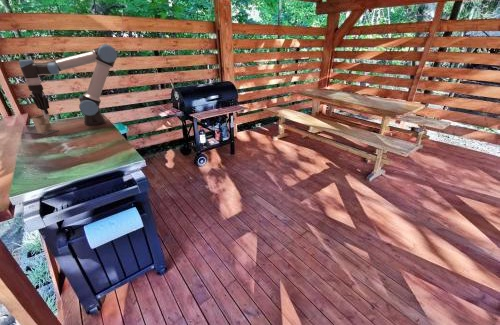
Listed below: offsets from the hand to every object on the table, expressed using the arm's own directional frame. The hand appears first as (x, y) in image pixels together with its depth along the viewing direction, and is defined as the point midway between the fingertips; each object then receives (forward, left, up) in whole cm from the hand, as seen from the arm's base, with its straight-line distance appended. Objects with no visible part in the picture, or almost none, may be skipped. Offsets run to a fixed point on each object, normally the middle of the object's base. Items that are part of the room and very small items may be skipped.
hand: (47, 118), depth 171 cm
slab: (0, -7, -10) cm, 12 cm away
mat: (0, -10, -11) cm, 15 cm away
